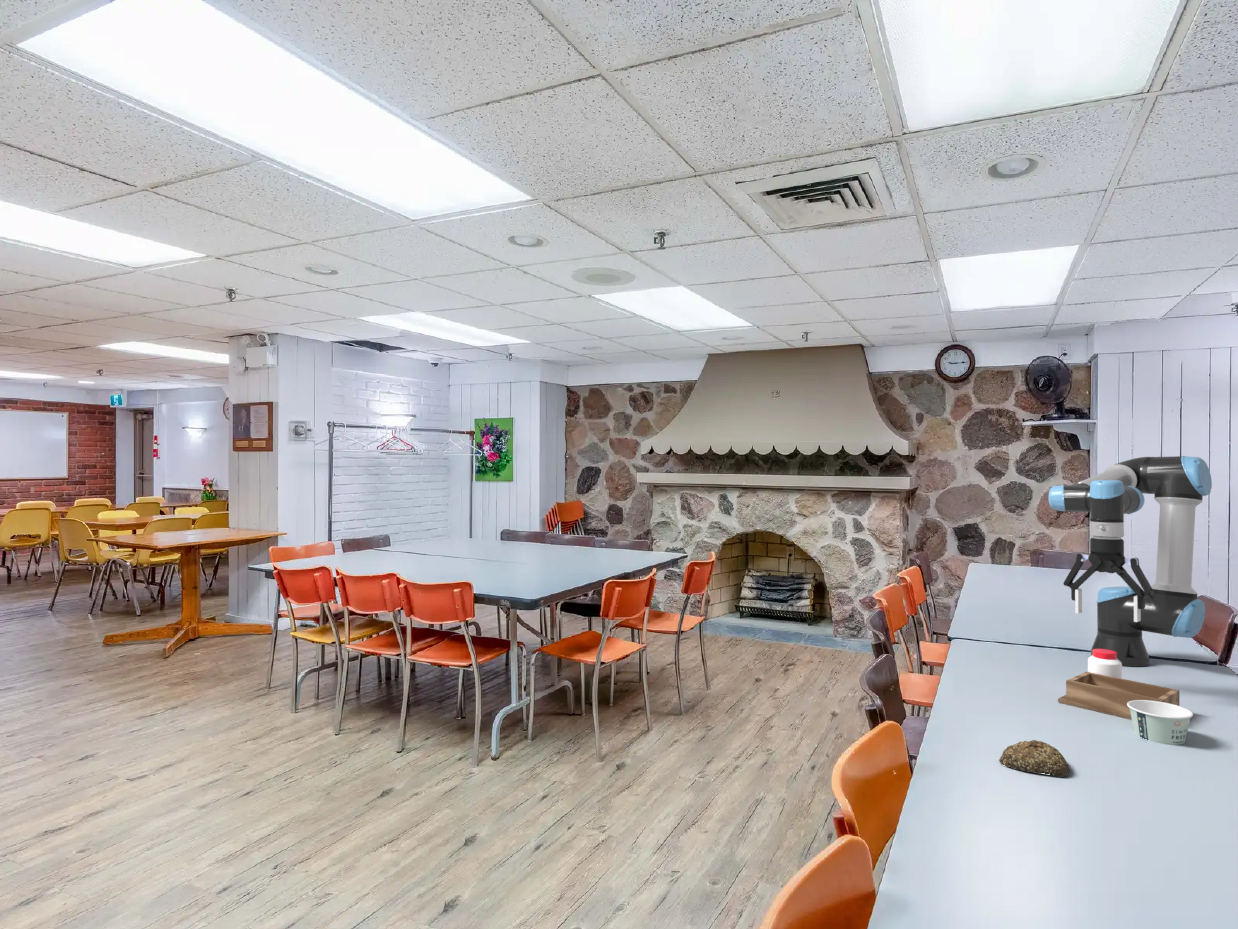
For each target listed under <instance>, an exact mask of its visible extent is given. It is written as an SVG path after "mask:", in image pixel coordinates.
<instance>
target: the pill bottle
mask: <svg viewBox="0 0 1238 929" xmlns="http://www.w3.org/2000/svg"><path fill="white" fill-rule="evenodd" d="M1087 672H1091V673H1096V674H1101V675H1106V676H1111V677H1116V678H1121V679H1123V666H1122V663H1121V661H1120V660H1119V659H1117V652H1115V651H1112V650H1107V649H1093V655H1092V656H1091V655H1090V656H1088V658H1087Z"/></svg>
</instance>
